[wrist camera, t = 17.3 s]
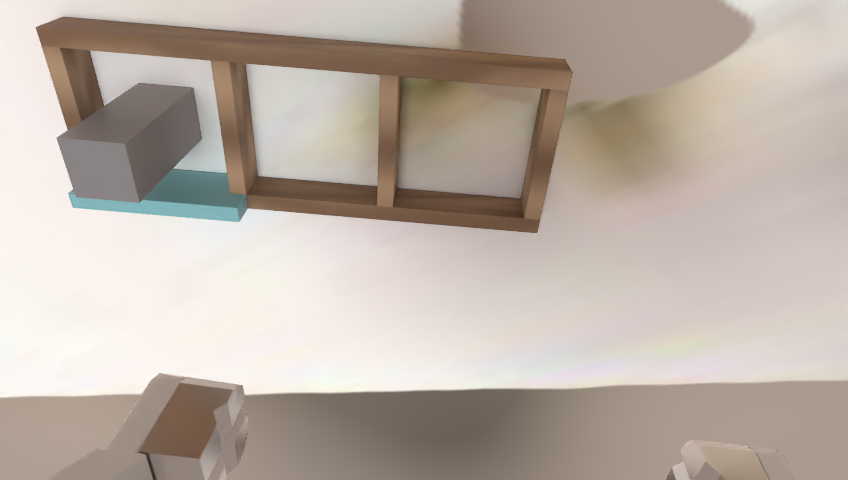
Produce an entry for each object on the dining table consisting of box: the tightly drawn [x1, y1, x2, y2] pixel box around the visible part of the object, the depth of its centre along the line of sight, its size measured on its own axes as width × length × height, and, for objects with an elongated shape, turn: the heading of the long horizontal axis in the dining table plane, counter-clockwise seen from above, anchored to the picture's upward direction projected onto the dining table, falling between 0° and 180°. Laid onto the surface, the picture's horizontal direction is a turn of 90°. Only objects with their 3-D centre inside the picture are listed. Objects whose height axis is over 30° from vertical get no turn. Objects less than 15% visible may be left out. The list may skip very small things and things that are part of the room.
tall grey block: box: [57, 83, 202, 203], centre depth 37 cm, size 4×4×10 cm
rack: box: [36, 17, 572, 233], centre depth 39 cm, size 12×35×5 cm, turn 86°
